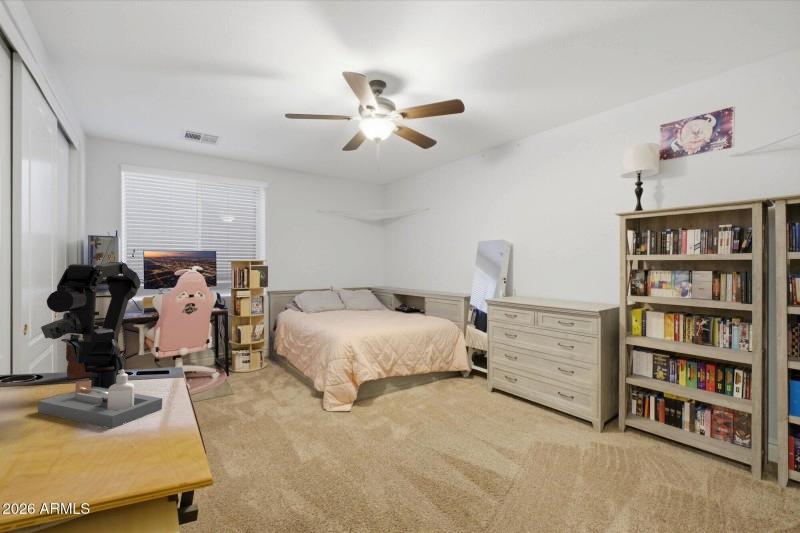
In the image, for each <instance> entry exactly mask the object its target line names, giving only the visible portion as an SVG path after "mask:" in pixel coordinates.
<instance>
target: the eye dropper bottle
mask: <svg viewBox="0 0 800 533" xmlns="http://www.w3.org/2000/svg"><path fill="white" fill-rule="evenodd" d="M128 375H129V374H127V373H126V372H125V370H124V369H123V370H119V373H118V375H117V376H116V383H117V384H114V385H112V386H110V387H109V389H108V403H107V409H108V410H113V411H119V410H122V409H125V408H128V407H131V406H134V393H135V385H134V384H133V383H132V382H128V380H129V378H128V377H129V376H128Z"/></svg>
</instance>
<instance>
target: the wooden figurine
mask: <svg viewBox="0 0 800 533" xmlns="http://www.w3.org/2000/svg"><path fill="white" fill-rule="evenodd" d="M95 325H96V324H95ZM96 326H99V328H98V329H102V326H100V325H96ZM65 359H66V361H67V362H68V363H67V367H66V377H67V379H69V380H72V379H73V380H75V379H76V380H77V379H83V378H90V377H91V372H88V373H86V372H85V366H84V362H83V363H82V364H77V363H76V360H75V357H74V355H73V352H72V350H71V347H70V346H69V345H68V344H67V343H66V348H65Z"/></svg>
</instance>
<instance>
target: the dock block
mask: <svg viewBox="0 0 800 533" xmlns="http://www.w3.org/2000/svg"><path fill="white" fill-rule="evenodd" d="M91 390H96V391H102V392H107V393H108V389H106V388H100V387H95V386H93V387H91ZM107 403H108V401H106V400H103V397H100V396H95V395H89V394H84V393H77V394H76V397H75V390H74V391H71V392H67V393H63V394H60V395H59V394H58V395H55V396H52V397H49V398H46V399H42V400H38V405H37V413H38V414H44V415H49V416H53V417H56V418H57V417H58V418H62V419H68V420H71V421H77V422H81V423H86V424H90V425H94V426H99V427H104V428H109V429H114V428H116V427H119V426H121V424H122V425H124V424H123V423H125V422H127V423H129V422H128V421H130V422H132V421H135V420H138V419H140V418H143V417H145V416H147V415H150V414H153V413H156V412H158V411H160V410H162V409H163V397H158V396H157V397H156V396H151V395H145V394H140V393H136V392H134V406H131V407H128V408H125V409H122V410H119V411H113V410H108V409H107ZM134 419H135V420H134ZM131 420H132V421H131ZM125 424H126V423H125Z"/></svg>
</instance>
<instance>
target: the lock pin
mask: <svg viewBox="0 0 800 533" xmlns="http://www.w3.org/2000/svg"><path fill="white" fill-rule="evenodd" d="M74 391H75V397H76V394H77V393H84V394H89V395H95V396H100V397H103V400H106V401H108V393H107V392H102V391H96V390H91V380H89V379H83V380H80V381H76V382H75V390H74Z"/></svg>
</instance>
